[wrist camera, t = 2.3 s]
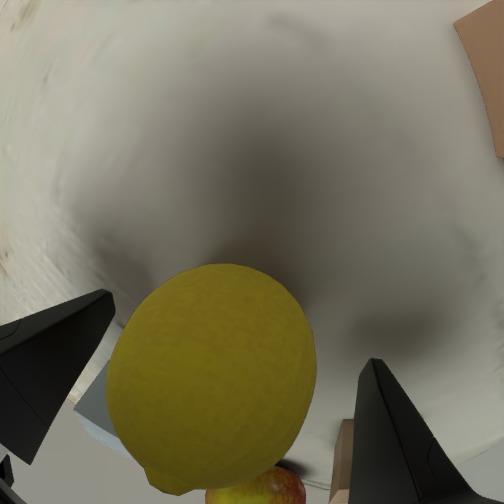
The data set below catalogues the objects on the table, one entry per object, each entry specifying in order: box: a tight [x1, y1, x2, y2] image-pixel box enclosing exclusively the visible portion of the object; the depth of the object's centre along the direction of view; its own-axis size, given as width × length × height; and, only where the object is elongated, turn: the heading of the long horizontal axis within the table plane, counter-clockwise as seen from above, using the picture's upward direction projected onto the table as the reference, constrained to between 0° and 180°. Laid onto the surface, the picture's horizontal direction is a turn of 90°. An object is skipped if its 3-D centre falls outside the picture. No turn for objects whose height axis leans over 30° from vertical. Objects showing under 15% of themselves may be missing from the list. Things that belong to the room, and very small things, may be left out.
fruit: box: [205, 465, 306, 504], centre depth 17 cm, size 10×9×8 cm
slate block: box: [73, 360, 136, 461], centre depth 15 cm, size 5×5×5 cm
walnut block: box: [329, 419, 354, 504], centre depth 12 cm, size 5×5×5 cm
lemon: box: [105, 263, 317, 496], centre depth 7 cm, size 6×6×8 cm
